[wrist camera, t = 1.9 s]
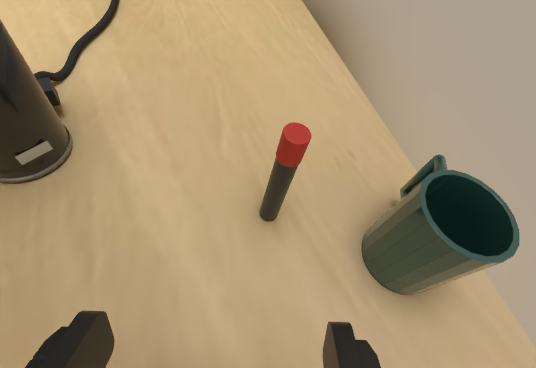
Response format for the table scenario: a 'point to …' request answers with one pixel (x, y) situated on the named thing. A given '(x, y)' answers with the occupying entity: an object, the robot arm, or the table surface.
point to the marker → (284, 167)
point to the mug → (439, 231)
